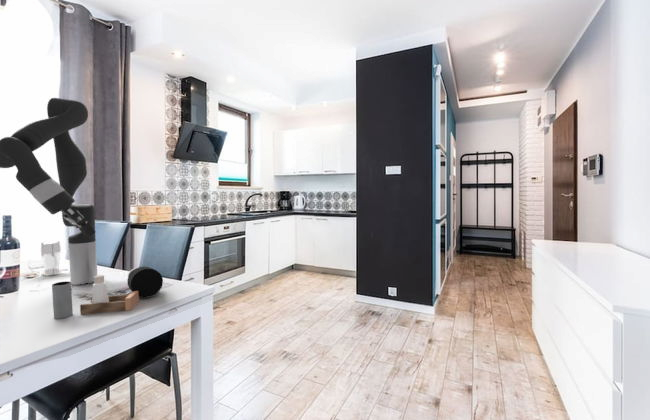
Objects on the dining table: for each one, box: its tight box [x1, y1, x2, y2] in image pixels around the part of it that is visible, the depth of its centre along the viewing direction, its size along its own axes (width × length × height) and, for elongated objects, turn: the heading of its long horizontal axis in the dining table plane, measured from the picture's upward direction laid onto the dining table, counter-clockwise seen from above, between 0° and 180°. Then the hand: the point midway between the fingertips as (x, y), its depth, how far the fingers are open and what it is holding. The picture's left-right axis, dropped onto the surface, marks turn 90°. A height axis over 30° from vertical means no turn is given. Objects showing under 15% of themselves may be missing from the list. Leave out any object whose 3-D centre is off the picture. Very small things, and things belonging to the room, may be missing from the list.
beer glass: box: [40, 240, 62, 277], centre depth 150 cm, size 7×7×15 cm
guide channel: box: [79, 291, 140, 315], centre depth 105 cm, size 14×8×4 cm, turn 103°
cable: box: [126, 266, 164, 299], centre depth 127 cm, size 10×34×10 cm, turn 36°
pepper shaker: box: [91, 274, 109, 303], centre depth 104 cm, size 5×5×11 cm
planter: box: [51, 280, 74, 320], centre depth 99 cm, size 4×4×10 cm
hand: (91, 234), depth 108 cm, fingers open, 8 cm apart
